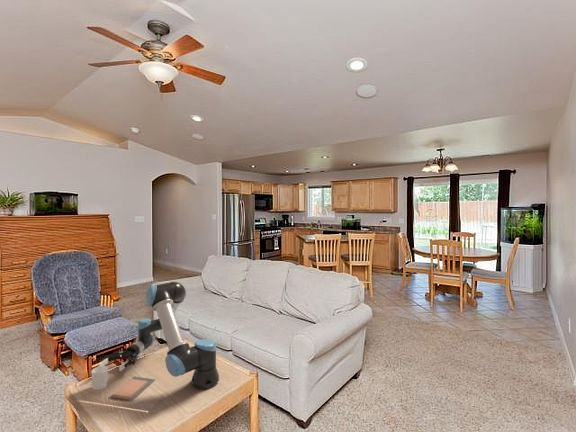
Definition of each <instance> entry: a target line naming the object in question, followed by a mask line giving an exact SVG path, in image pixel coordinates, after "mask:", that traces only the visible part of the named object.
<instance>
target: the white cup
mask: <svg viewBox="0 0 576 432" xmlns="http://www.w3.org/2000/svg"><path fill="white" fill-rule="evenodd" d="M90 373H91V383H92V391H100V390H103V389H105V388H107V387H108V381H109V366H107V365H104V366H99V367H98V366H97V367H94V368H93V369H91V371H90Z"/></svg>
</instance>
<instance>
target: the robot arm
mask: <svg viewBox="0 0 576 432" xmlns="http://www.w3.org/2000/svg"><path fill="white" fill-rule="evenodd" d="M186 295H187V291H186V288H185V286H184V285H183V283H180V282H177V281H171V282H165V283H160V284H153V285H151V286H149V287H147V289H146V294H145V299H146V300H145V302H146V305H147V306H148V307H150V308H151V307H152V310H153V311H155V312H156V313H157V317H158V318H157V319H152V320H151V318H141V319H140V320H139V321H138V325H137V334H138V335H137V336H138V337H137V340H136V341H135V342H133V343H132V344H131V345H129V346H127V348H126V349H125V350H124V351H121V350H118V351H116V352H114V353H111V354H107V355H105V356H104V357H103V360H101V361H100V362H99V363H97V365H98V366H97V367H99V366H106V365H107V364H109V362H113V361H116V360H124V359H125V360H126V361H124V362H123V363H121V365H119V367H118V371H119V372H122V371H123V370H124V369H126V368H127V367H129V366H131V365H135V364H136V362H137V359H138V358H139V357H140V356H139V355H140V354H141V353H142V352H144V351H145V350H146V349H148V348H150V347H151V346H152V345H153V344H154V341H155V339H154V336H153V335H152V334H151V333H154V332H157V331H161V330H162V332H163V335H164V338H165V342H166V345H167V348H168V350H167V353H166V357H165V361H164V362H165V368H166V369H167V371H168V373H169V374H170V375H171V376H172V377H175V378H176V377H179V376H183V375H185V374H188V373H189V372H192V371H193V374H192V376H191V385H192V387H193V388H194V389H196V388H197V389H198V390H207V389H206V388H208V389H210V388H209V387H211V388H213V387H215V386H216V385H217V384H218V383H219V382H220V374H219V372H218V369H217V345H216V342H215V341H214V340H212V339H207V338H206V339H205V338H203V339H198V340H196V341H195V342H194V345H193V346H190V344H189V343H188V342H186V341H185V340H184V336H183V333H182V331H181V328H180V325H179V322H178V320H177V317H176V312H177V310H178V308H179V306H180V304H182V302H184V301H185V299H186ZM127 359H128V360H127ZM218 381H219V382H218ZM217 382H218V383H217ZM216 383H217V384H216ZM215 384H216V385H215ZM214 385H215V386H214ZM212 386H213V387H212Z"/></svg>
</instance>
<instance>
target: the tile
mask: <svg viewBox="0 0 576 432" xmlns="http://www.w3.org/2000/svg"><path fill="white" fill-rule="evenodd" d="M146 385H147V381H143V380H136V379H132V378H130V379H129V380H128V381H127V382H126V383H124V384H123V385H122V386H121V387H119V389H117V390H116V391H115V392H113V393H112V394H113V397H115V398H121V399H128V400H130V399H131V398H132V397H133V396H134V395H136V394H137V393H138V392H139V391H140V390H141V389H142V388H143V387H144V386H146Z"/></svg>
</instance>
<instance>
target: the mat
mask: <svg viewBox="0 0 576 432" xmlns="http://www.w3.org/2000/svg"><path fill="white" fill-rule="evenodd" d="M131 379H136V380H143V381H147V385H146V386H144V387H143V388H142V389H141V390H140V391H139V392H138V393H137V394H136V395H134V396H133V397H132V398H131V399H130V400H128V399H121V398H115V397H113V393H112V394H111V395H110V396H108V397H107V399H111V400H117V401H122V402H123V401H124V402H132V403H133V401H135V400H136V398H138V397H139V396H140V395H142V393H143V392H144V391H145V390H147V388H149V387H150V386H151V385H152V384H153V383H154V382H155V381H157V380H156V379H155V378H148V377H141V376H133V377H132V378H131Z"/></svg>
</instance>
